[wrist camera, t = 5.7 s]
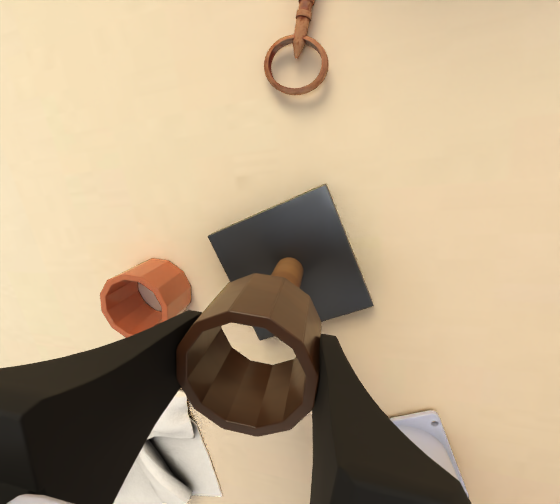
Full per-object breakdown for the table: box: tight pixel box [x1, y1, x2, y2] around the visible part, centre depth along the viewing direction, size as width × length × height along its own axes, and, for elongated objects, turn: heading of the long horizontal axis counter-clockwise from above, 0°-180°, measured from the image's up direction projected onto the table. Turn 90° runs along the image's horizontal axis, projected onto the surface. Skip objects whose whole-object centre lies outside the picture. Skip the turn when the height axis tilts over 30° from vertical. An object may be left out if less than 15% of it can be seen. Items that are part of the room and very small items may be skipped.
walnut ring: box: [176, 273, 321, 436], centre depth 12 cm, size 5×5×4 cm
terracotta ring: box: [100, 258, 191, 338], centre depth 22 cm, size 5×5×4 cm
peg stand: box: [208, 184, 374, 340], centre depth 18 cm, size 9×9×7 cm
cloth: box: [113, 389, 223, 504], centre depth 29 cm, size 20×22×2 cm
